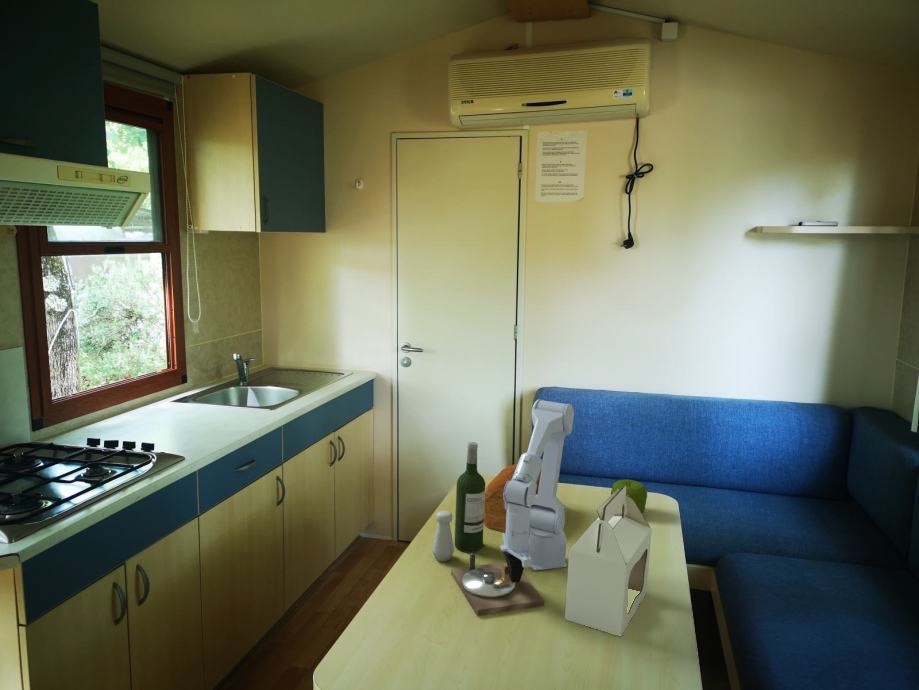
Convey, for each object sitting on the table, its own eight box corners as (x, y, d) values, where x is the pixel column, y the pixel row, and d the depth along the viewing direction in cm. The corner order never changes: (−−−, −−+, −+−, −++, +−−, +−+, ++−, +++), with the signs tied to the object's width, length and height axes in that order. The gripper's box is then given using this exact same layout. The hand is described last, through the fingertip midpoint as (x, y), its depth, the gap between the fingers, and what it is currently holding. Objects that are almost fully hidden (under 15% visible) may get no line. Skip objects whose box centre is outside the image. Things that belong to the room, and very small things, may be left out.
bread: (476, 526, 209) (478, 475, 206) (511, 496, 232) (513, 451, 230) (526, 538, 202) (528, 486, 199) (557, 507, 225) (560, 460, 222)
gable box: (595, 579, 179) (602, 475, 175) (646, 594, 173) (655, 487, 168) (564, 620, 160) (571, 505, 156) (620, 638, 154) (630, 518, 149)
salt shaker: (450, 564, 185) (452, 518, 182) (429, 561, 186) (431, 515, 183) (455, 554, 190) (457, 509, 188) (435, 551, 191) (436, 507, 189)
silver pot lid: (472, 601, 164) (473, 583, 163) (455, 574, 176) (456, 557, 175) (530, 593, 168) (531, 575, 167) (509, 567, 180) (510, 551, 180)
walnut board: (512, 566, 185) (513, 545, 184) (544, 605, 166) (545, 582, 165) (451, 574, 179) (451, 552, 178) (477, 616, 161) (478, 591, 160)
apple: (608, 516, 219) (610, 483, 217) (611, 504, 229) (613, 472, 227) (644, 522, 216) (647, 488, 214) (646, 509, 226) (648, 477, 224)
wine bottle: (471, 555, 190) (475, 449, 185) (448, 546, 195) (452, 443, 190) (488, 545, 196) (492, 443, 191) (465, 537, 201) (469, 437, 196)
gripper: (492, 517, 174) (489, 568, 176) (512, 543, 160) (509, 598, 162) (518, 515, 176) (516, 565, 178) (541, 540, 162) (538, 594, 164)
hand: (514, 580), depth 170 cm, fingers closed
